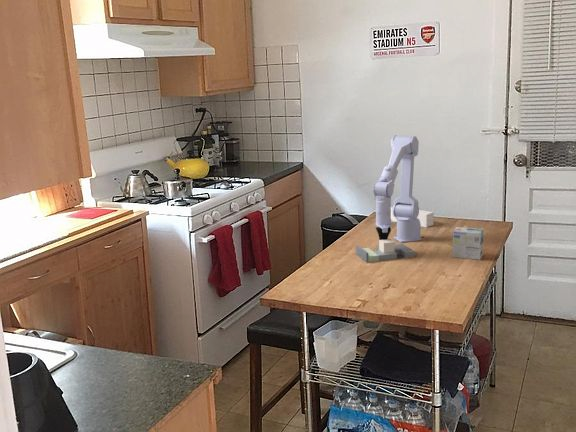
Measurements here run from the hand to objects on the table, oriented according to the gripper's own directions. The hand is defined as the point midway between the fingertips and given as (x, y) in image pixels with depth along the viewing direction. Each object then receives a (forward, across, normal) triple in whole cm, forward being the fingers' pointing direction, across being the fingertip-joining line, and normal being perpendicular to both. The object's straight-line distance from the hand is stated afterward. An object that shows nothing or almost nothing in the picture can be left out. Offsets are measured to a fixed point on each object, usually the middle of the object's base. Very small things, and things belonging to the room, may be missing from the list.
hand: (383, 245), depth 261 cm
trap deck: (+3, -3, 0) cm, 4 cm away
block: (+1, -4, -1) cm, 4 cm away
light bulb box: (+3, -6, -32) cm, 32 cm away
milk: (0, +40, -25) cm, 47 cm away
